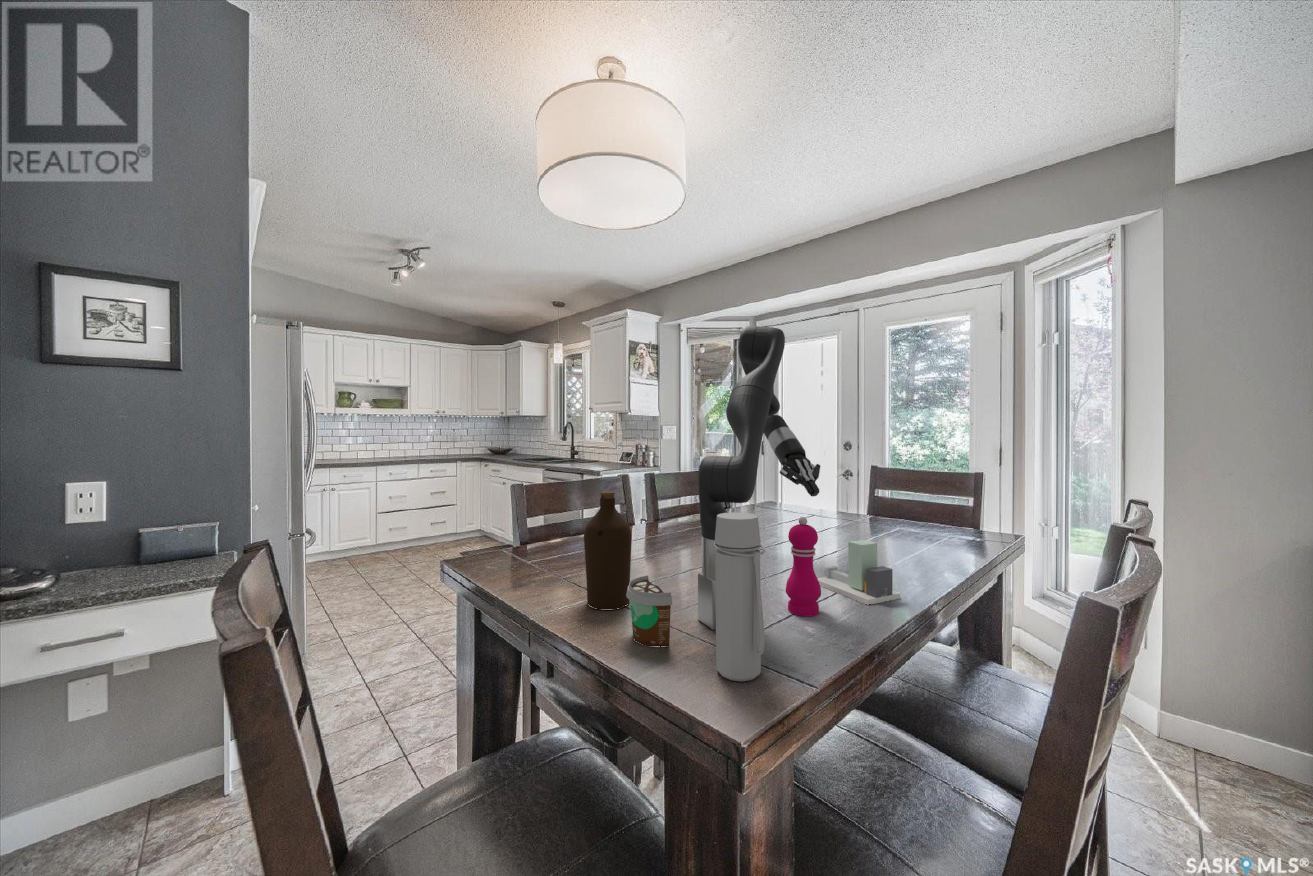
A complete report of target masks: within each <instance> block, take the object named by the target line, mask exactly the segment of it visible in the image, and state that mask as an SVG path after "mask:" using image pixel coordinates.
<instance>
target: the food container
mask: <svg viewBox="0 0 1313 876" xmlns="http://www.w3.org/2000/svg"><path fill="white" fill-rule="evenodd" d="M649 578H650V577H649V575H643V576H638V577H636V578H633V579H631V580H630V583H629V586H628V588H627V593H626V597H627V598H628V599H629V600H630V602H629V605H630V616H631V617H630V618H631V626H632V628H631V629H632V639H633V638H634V639H635V641H637V642H639V643H641V644H643V645H646V646H645V647H647V646H660V647H661V646H669V647H670V639H671V638H670V637H671V636H670V635H671V606H673V596H672V592H664V591H663V590H662V588H661V587H659V586H658V585H656V584H654V583H653V582H651V581H650V579H649ZM634 639H633V640H634ZM635 641H634V642H635ZM643 645H642V646H643ZM661 648H662V647H661Z"/></svg>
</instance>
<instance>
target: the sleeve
mask: <svg viewBox="0 0 1313 876" xmlns="http://www.w3.org/2000/svg"><path fill="white" fill-rule="evenodd" d="M847 544H848V546H847V553H848V557H847V558H848V561H847V563H848V565H847V566H848V569H847V570H848V573H847V574H848V586H851V587H853V588H856V589H859V590H861V591H862V590H864V581H866V569H868V568H874V567H878V543H877V542H874V541H870V540H866V539H859V540H851V541H848V543H847Z"/></svg>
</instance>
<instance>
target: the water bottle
mask: <svg viewBox="0 0 1313 876" xmlns="http://www.w3.org/2000/svg"><path fill="white" fill-rule="evenodd" d="M759 524H760V523H759V515H757V514H754V513H750V512H748V513H747V512H734V511H733V512H728V513H722V514H718V515H717V520H716V532H715V542H714V546H715V547H716V548H717V549H716V551H715V575H716V629H715V669H716V670H717V671H718V673H719V674H720V675H721V676H722V677H723V678H725V679H727V680H730V681H735V682H746V681H747V682H748V681H752V680H754V679H756V678H757V677H758V676H760V674H761V671H762V654H764V650H765V642H766V641H765V640H766V636H765V625H764V613H763V612H764V611H763V601H762V592H761V591H762V589H761V556H762V555H764V554H765V553H766V551H767V550H766V547H765V546H764V545H763V544H761V534H760V525H759ZM761 548H762V551H761V550H760V549H761Z"/></svg>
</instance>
